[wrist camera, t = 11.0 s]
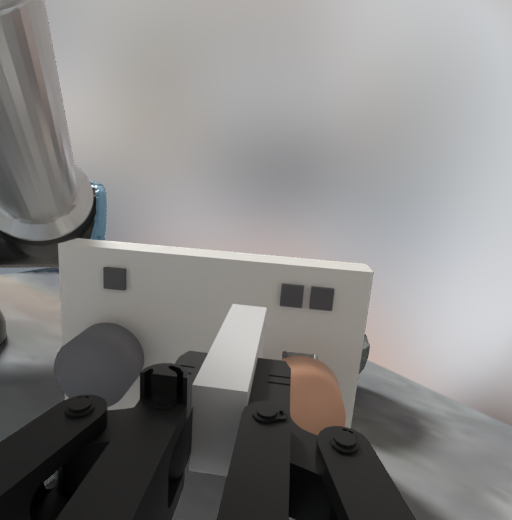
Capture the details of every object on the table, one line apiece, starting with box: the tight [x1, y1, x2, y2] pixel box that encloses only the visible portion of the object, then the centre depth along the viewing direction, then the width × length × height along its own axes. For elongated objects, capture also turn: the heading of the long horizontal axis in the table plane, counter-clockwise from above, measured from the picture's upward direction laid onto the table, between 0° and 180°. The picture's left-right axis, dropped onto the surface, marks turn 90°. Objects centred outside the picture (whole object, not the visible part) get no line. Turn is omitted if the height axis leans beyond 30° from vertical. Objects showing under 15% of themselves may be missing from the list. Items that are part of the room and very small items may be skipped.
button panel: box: [58, 238, 373, 429], centre depth 36 cm, size 7×26×18 cm, turn 85°
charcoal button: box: [54, 322, 144, 407], centre depth 33 cm, size 10×6×6 cm, turn 175°
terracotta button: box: [281, 352, 346, 435], centre depth 30 cm, size 10×6×6 cm, turn 175°
